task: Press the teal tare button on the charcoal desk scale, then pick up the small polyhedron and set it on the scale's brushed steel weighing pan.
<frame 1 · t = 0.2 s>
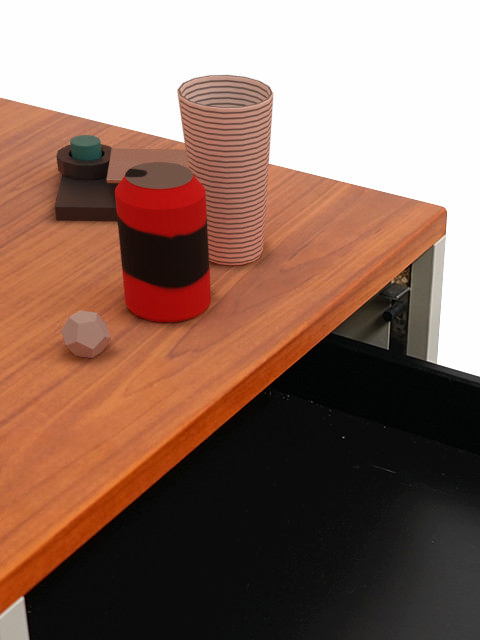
tare button: (86, 148, 142), point 4 cm above the table, slide at 0.1 cm
cup: (231, 254, 134), on the table
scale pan: (149, 167, 141), resting on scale
soda can: (168, 305, 125), on the table
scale: (132, 196, 142), on the table
polyhedron: (88, 353, 118), on the table
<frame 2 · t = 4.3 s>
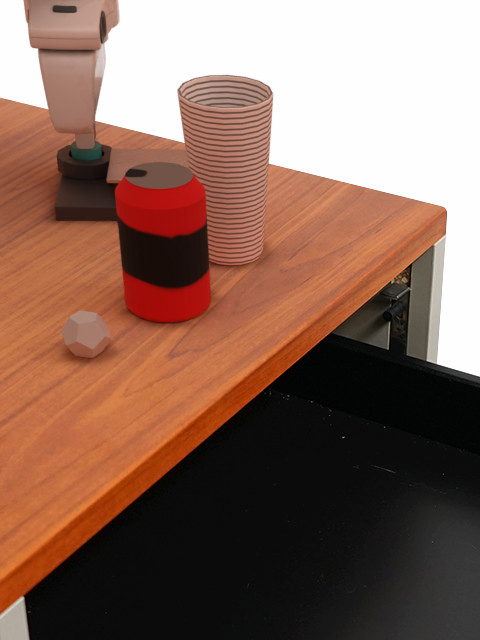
hand: (86, 144, 142), 4 cm above the table, tool pointing down, fingers closed, pressing on tare button
tare button: (86, 152, 142), point 3 cm above the table, slide at -0.3 cm, touching gripper
everything else where it was.
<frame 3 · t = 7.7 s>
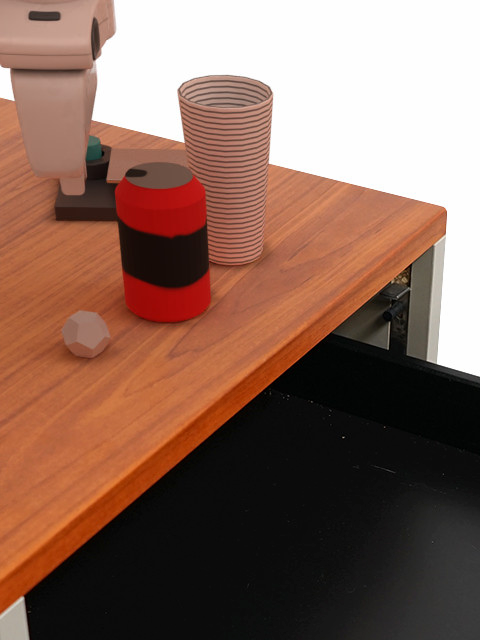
hand: (74, 188, 111), 13 cm above the table, tool pointing down, fingers closed
tare button: (86, 148, 142), point 4 cm above the table, slide at 0.1 cm
everything else where it was.
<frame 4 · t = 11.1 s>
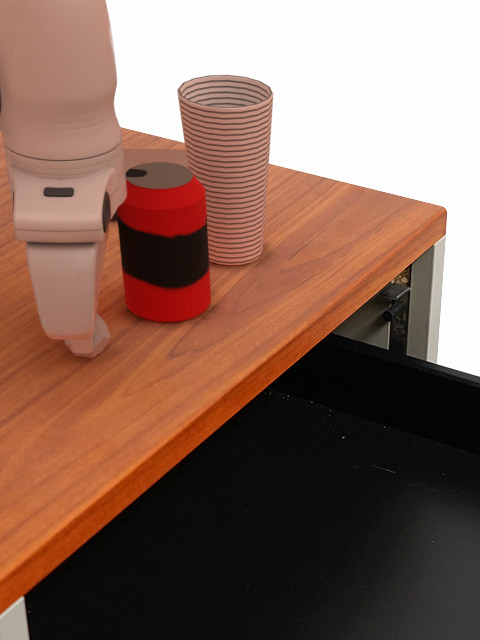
hand: (85, 334, 116), 2 cm above the table, tool pointing down, fingers closed on polyhedron, 4 cm apart
polyhedron: (88, 353, 118), on the table, touching gripper
everything else where it was.
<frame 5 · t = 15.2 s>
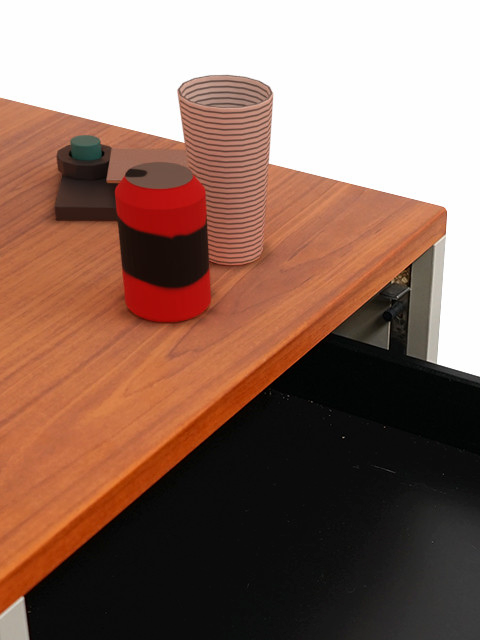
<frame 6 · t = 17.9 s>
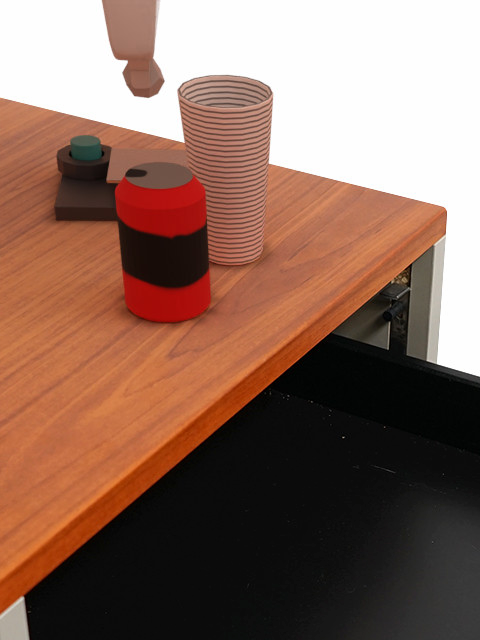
hand: (142, 77, 135), 12 cm above the table, tool pointing down, fingers closed on polyhedron, 4 cm apart
polyhedron: (145, 95, 136), point 10 cm above the table, touching gripper
everything else where it was.
when the fingers open (5 cm above the table, at t = 19.8 s): polyhedron stays where it is, resting on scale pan.
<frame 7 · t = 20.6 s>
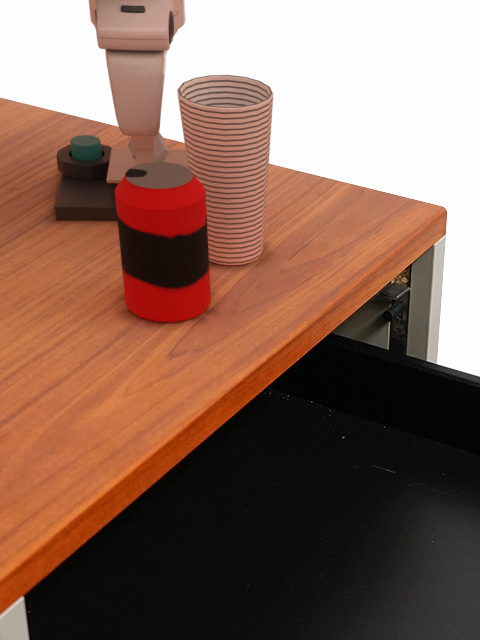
hand: (148, 146, 139), 5 cm above the table, tool pointing down, fingers open, 8 cm apart
polyhedron: (150, 166, 140), point 3 cm above the table, touching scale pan
everything else where it was.
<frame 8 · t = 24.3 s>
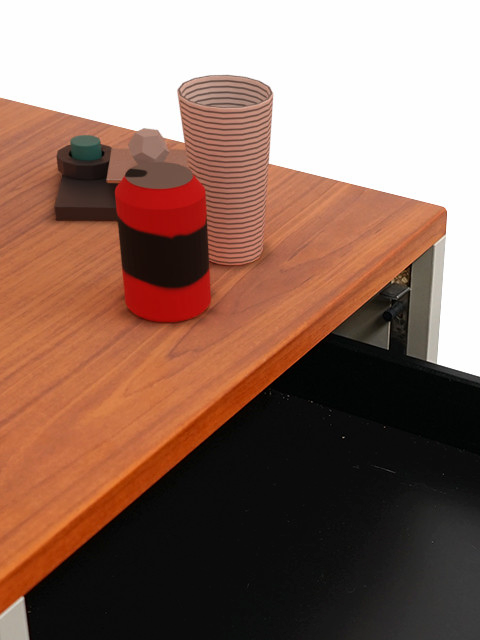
nothing on the table moved.
at the end: tare button pushed in 0.9 cm at the most during the clip, back to where it started at the end; tare button slide at 0.1 cm; polyhedron inside the target area on the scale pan (0.0 cm from its centre), point 0.2 cm above the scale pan's base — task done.
